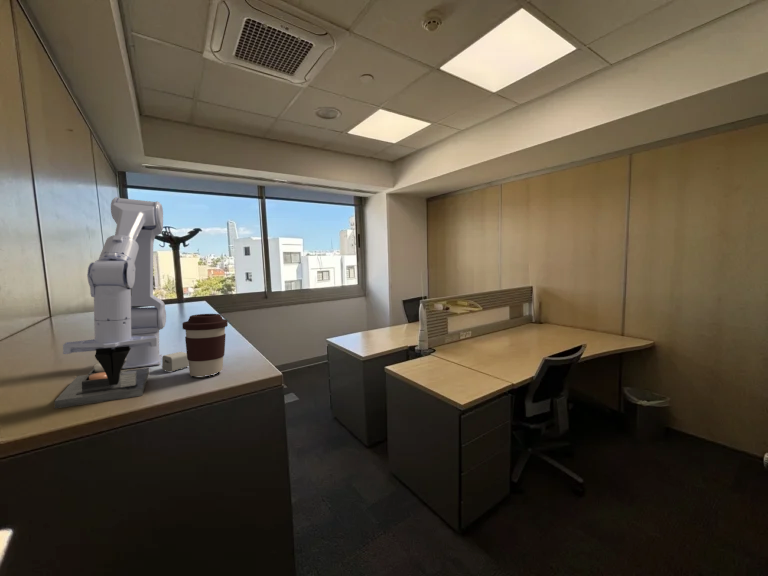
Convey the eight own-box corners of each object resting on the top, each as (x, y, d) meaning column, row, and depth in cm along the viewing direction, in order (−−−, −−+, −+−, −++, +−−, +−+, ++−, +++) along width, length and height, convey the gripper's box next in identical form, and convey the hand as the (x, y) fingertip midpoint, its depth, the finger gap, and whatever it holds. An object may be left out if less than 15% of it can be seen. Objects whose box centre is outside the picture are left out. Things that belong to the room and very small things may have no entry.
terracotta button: (91, 380, 67) (91, 373, 67) (110, 378, 69) (110, 371, 69) (87, 385, 65) (87, 378, 65) (107, 382, 67) (107, 375, 66)
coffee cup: (200, 382, 73) (199, 318, 72) (174, 376, 77) (173, 316, 76) (236, 370, 81) (236, 314, 81) (211, 366, 86) (210, 312, 85)
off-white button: (96, 369, 72) (96, 362, 72) (114, 367, 73) (114, 360, 73) (93, 373, 69) (92, 366, 69) (112, 371, 71) (111, 364, 71)
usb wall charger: (162, 370, 81) (162, 355, 81) (188, 363, 87) (188, 349, 87) (172, 372, 79) (172, 357, 79) (197, 365, 86) (197, 351, 85)
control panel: (77, 382, 71) (77, 369, 70) (148, 373, 78) (148, 362, 78) (54, 408, 58) (54, 393, 58) (142, 395, 65) (142, 381, 65)
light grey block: (122, 384, 66) (122, 372, 66) (136, 382, 67) (136, 370, 67) (120, 387, 64) (120, 375, 64) (135, 385, 66) (135, 373, 66)
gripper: (56, 324, 56) (58, 397, 57) (155, 319, 64) (155, 383, 65) (68, 318, 62) (70, 384, 63) (157, 314, 70) (158, 373, 71)
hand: (114, 383), depth 65 cm, fingers closed
